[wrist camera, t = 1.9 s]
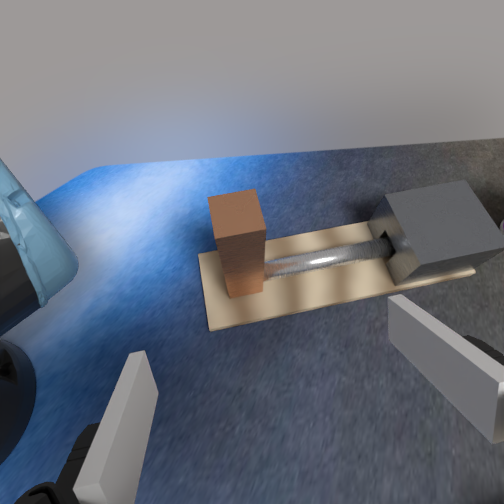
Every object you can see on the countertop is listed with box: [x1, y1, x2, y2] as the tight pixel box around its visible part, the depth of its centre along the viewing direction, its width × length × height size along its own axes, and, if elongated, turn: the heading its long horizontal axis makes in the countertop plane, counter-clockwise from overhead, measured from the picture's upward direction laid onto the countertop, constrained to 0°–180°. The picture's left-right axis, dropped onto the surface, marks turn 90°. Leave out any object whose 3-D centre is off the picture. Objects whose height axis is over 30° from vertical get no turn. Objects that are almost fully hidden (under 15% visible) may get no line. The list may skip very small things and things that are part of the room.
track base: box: [198, 221, 476, 332], centre depth 39 cm, size 34×10×1 cm, turn 102°
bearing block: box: [367, 180, 504, 286], centre depth 36 cm, size 10×9×6 cm
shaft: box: [208, 189, 396, 299], centre depth 31 cm, size 21×4×14 cm, turn 102°
